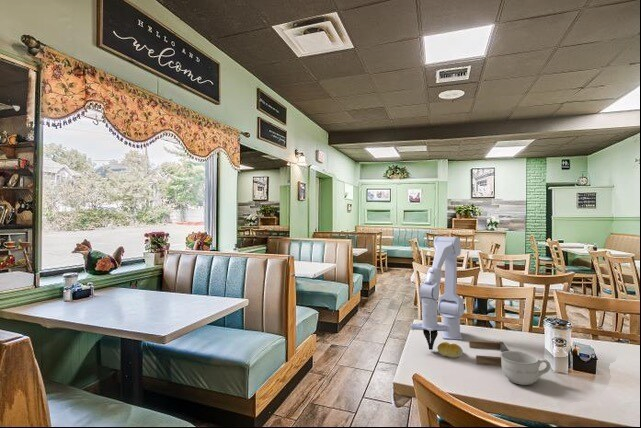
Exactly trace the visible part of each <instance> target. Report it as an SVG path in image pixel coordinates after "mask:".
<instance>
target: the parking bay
mask: <svg viewBox="0 0 641 428" xmlns="http://www.w3.org/2000/svg"><path fill="white" fill-rule="evenodd" d="M468 346H469V348H470V349H471V348H472V349H485V350H500V352H501V353H502V352H505V351H510V349H508V348H507V346H506V344H505V343H504V341H494V340H493V341H491V340H477V339H476V340H474V339H473V340H472V339H469V340H468ZM475 359H476V360H475V361H476V364H477V365H483V366H484V365H487V366H500V367H502V365H501V356H490V355H477V354H476V355H475Z"/></svg>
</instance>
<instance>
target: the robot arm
mask: <svg viewBox="0 0 641 428" xmlns="http://www.w3.org/2000/svg"><path fill="white" fill-rule="evenodd" d="M461 248H462V242H461V239H460V238H459V237H458V236H440V235H436V236H435V237H434V239H433V250H434V251H435V252H434V256H433V260H432V261H433V262H432V266H431V267H429V268H428V270H427V272H426V275H425V277H424V281H423V283H422V284H420V285H419V288H418V296H419V298H420V299H419V300H420V301H419V302H420V303H421V315H422V316H421V320H422V322H421V323H410V330H411V331H414V330H415V331H422V332H423V336H424V337H425V339H426V343H427V345H428V350H433V349H434V344H435V342H436V339H437V337H438V334H439V333H438V332H440V333H441V336H442V339H443V340H463V337H462V333H461V317H462V316H463V315H464V313H465V307H464V306H465V305H464V299H463V298H462V297H461V296H460V295H458V294H457V280H458V279H457V277H458V276H457V274H458V272H457V271H458V266H457V265H458V257H459V256H461V251H462V249H461ZM443 266H444V291H443V292H444V293H443V294H441V295H440V287H441V286H440V283H441V279H442V278H443V271H442V268H443ZM438 312H439V314H440V316H441V317H442V318H441V320H442V323H441V324H440V323H438Z"/></svg>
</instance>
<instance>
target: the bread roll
mask: <svg viewBox="0 0 641 428" xmlns="http://www.w3.org/2000/svg"><path fill="white" fill-rule="evenodd" d="M436 349H437V353H438V354H440V355H441V356H443V357H448V358H452V359H453V358H454V359H457V358H460V357H461V356H462V355H463V351H464V350H463V349H462V347H461V346H459V345H458V344H457V343H449V342H447V341H445V342H444V341H443V342H441V343H439V344H438V345H437V347H436Z"/></svg>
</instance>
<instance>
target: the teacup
mask: <svg viewBox="0 0 641 428" xmlns="http://www.w3.org/2000/svg"><path fill="white" fill-rule="evenodd" d="M500 357H501V365H502V366H501V371H502V373H503V375H504V377H506V379H508V380H509V381H510V382H511V383H514V384H518V385H521V386H530V385H532V384H534V383H536V382H537V381H538V380H539V378H540V377H541V376H542V375H544V374H547V373H548V372H549V371H550V370H551V363H550V361H548V359H545V358H539V357H537V356H536V355H534V354H532V353H528V352H525V351H520V350H519V351H518V350H509V351H505V352H501V353H500ZM542 363H545V364H546V366H545V368H544V369H541V370H540V366H541V364H542Z"/></svg>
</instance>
